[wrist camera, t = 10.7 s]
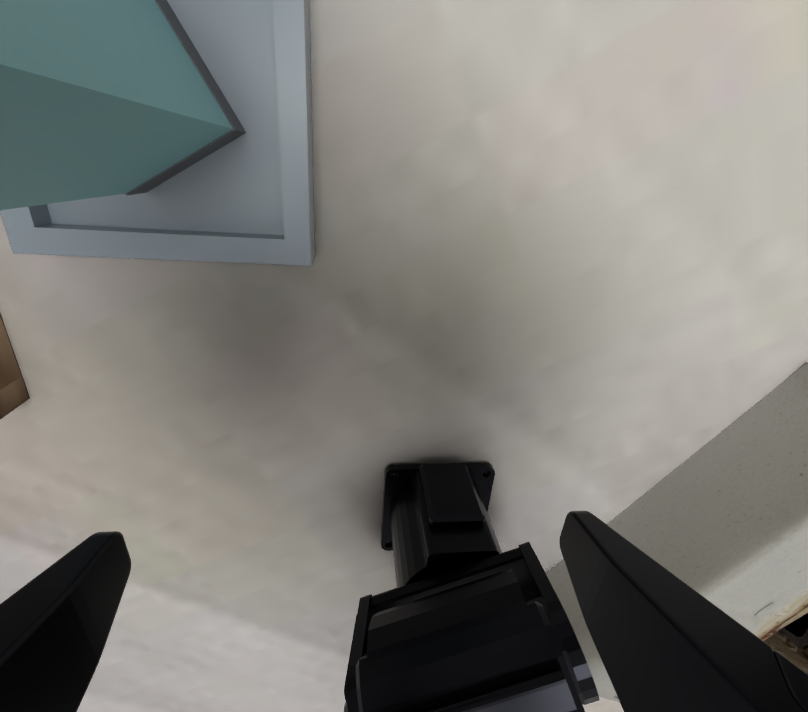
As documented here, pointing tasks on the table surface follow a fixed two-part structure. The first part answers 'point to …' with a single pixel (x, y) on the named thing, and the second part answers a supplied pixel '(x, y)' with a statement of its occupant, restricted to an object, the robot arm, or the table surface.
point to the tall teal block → (101, 100)
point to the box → (729, 526)
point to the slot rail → (9, 377)
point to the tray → (214, 159)
